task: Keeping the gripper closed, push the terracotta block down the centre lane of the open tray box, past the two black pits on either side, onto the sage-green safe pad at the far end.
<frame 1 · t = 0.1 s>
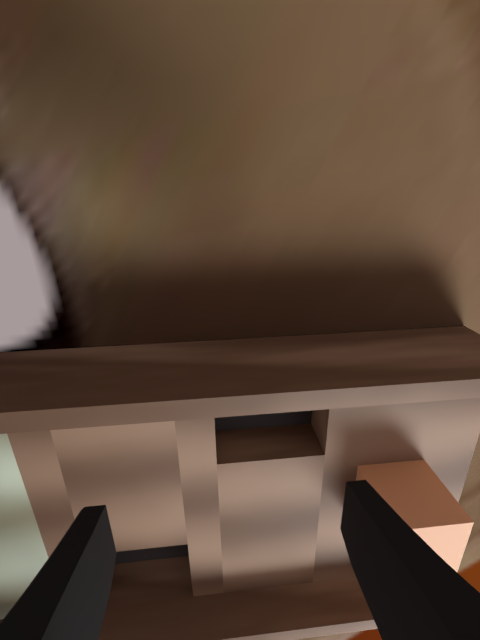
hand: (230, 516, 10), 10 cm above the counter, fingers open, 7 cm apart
terracotta block: (386, 488, 21), point 3 cm above the counter, touching open tray box
open tray box: (217, 465, 23), on the counter
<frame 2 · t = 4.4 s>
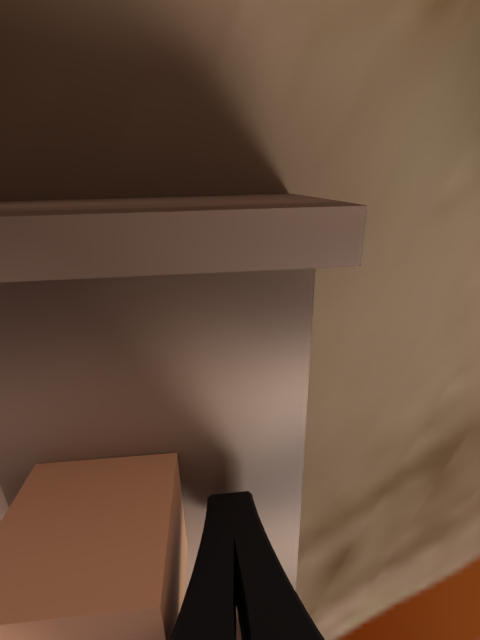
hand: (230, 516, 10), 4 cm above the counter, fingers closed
terracotta block: (117, 508, 11), point 3 cm above the counter, touching gripper
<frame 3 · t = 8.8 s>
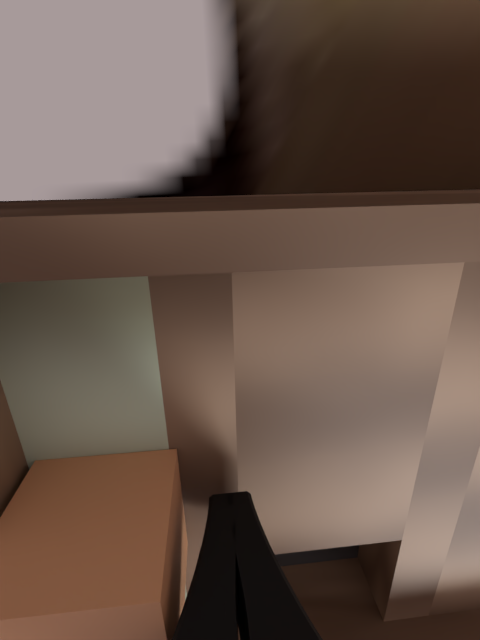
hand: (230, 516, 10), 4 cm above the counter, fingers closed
terracotta block: (117, 504, 11), point 3 cm above the counter, touching gripper, open tray box
open tray box: (420, 417, 15), on the counter
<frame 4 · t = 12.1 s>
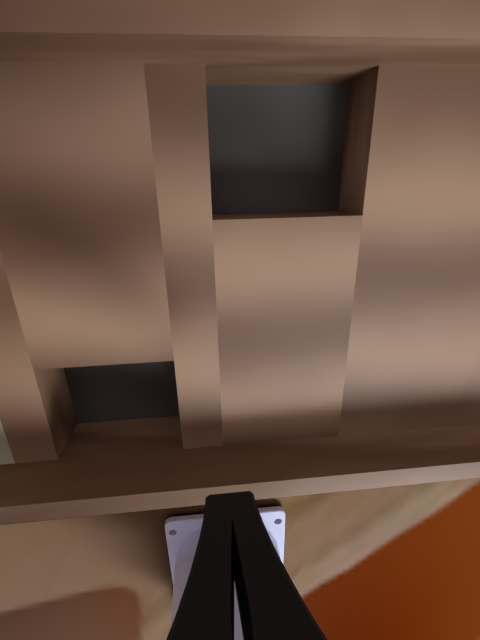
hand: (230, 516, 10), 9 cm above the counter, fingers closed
open tray box: (213, 275, 17), on the counter
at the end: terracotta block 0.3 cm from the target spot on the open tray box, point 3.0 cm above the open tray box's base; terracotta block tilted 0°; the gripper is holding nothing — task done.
